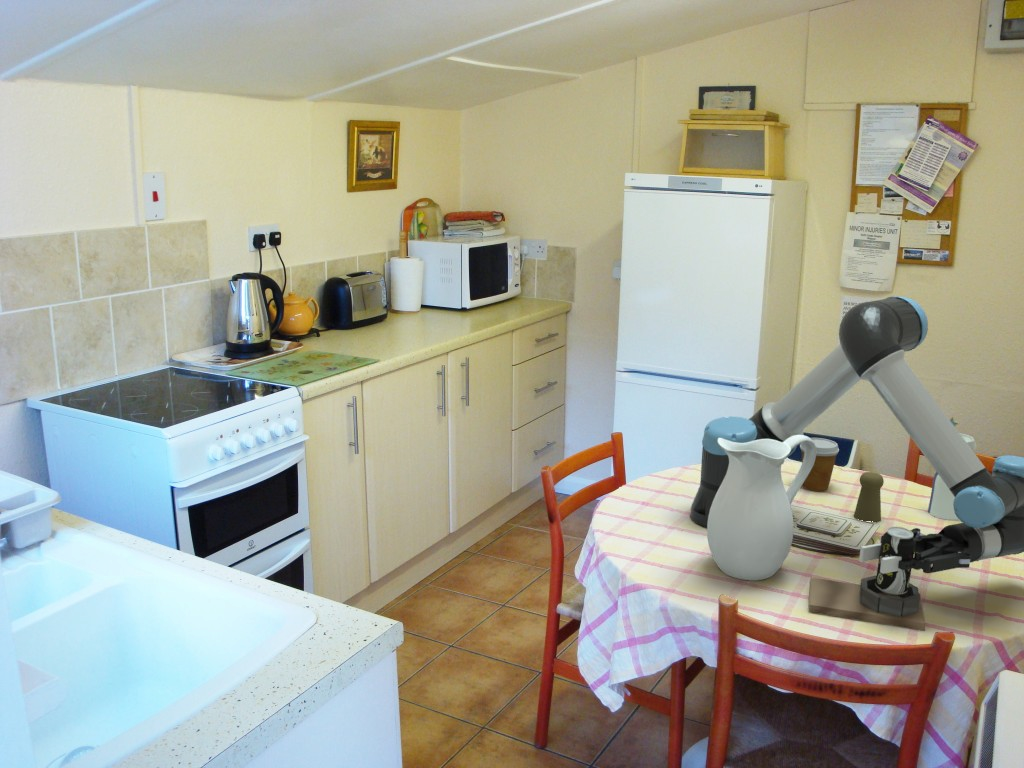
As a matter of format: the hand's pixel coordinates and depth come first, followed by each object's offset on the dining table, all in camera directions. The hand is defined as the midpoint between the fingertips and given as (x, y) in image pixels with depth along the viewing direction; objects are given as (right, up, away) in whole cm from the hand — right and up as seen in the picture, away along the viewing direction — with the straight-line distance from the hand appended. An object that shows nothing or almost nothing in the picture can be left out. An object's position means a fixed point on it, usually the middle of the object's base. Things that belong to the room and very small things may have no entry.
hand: (871, 560), depth 167 cm
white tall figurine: (+38, +1, +51) cm, 64 cm away
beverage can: (+5, -6, +4) cm, 9 cm away
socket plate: (+1, -10, +6) cm, 12 cm away
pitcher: (-14, -6, +22) cm, 27 cm away
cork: (+18, 0, +48) cm, 52 cm away
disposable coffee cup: (+12, +5, +68) cm, 69 cm away
